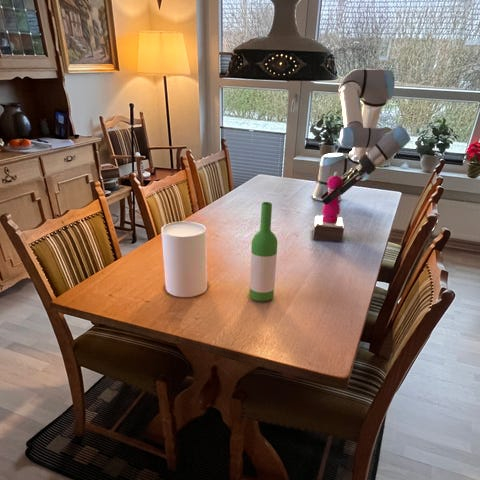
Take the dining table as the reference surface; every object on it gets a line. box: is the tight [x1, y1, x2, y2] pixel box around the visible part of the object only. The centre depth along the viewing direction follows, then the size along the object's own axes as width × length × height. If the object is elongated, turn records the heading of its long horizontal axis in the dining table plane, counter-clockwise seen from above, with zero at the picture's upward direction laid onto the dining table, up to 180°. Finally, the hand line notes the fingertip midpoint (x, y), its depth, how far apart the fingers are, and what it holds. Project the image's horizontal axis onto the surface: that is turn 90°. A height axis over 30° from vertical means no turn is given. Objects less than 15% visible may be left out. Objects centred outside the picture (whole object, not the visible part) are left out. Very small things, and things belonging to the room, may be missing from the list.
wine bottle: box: [249, 201, 278, 303], centre depth 124 cm, size 8×8×30 cm
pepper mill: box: [322, 172, 343, 223], centre depth 170 cm, size 7×7×20 cm
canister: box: [160, 220, 208, 298], centre depth 131 cm, size 14×14×20 cm
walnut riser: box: [312, 215, 345, 243], centre depth 177 cm, size 12×12×7 cm
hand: (323, 200), depth 171 cm, fingers closed on pepper mill, 5 cm apart
